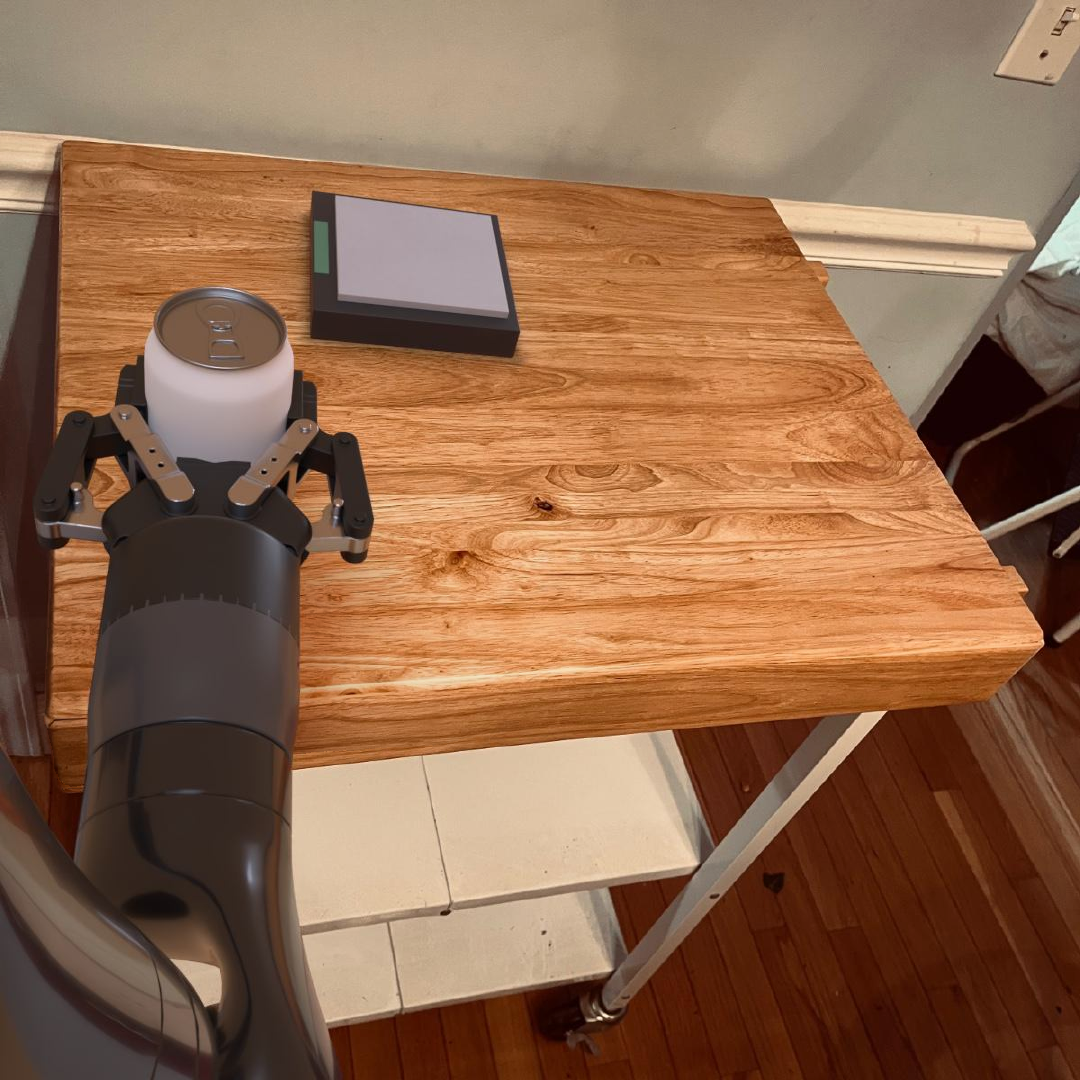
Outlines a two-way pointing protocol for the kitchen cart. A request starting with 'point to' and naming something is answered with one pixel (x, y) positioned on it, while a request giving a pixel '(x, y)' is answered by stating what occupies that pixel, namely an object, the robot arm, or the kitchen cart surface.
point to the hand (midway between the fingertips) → (221, 376)
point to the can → (218, 374)
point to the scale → (409, 276)
